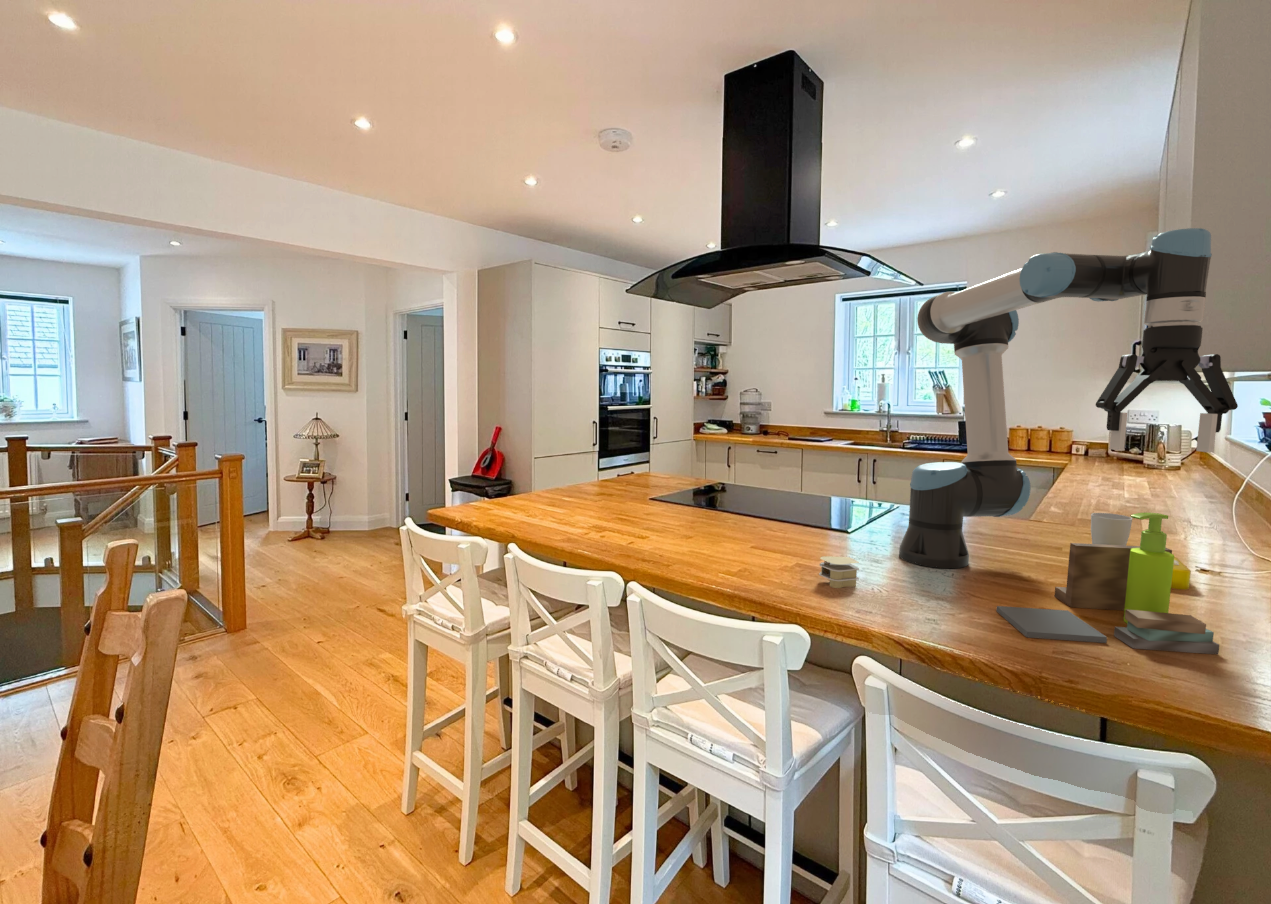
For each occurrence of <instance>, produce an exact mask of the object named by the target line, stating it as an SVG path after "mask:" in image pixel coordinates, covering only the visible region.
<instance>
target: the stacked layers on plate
mask: <svg viewBox="0 0 1271 904" xmlns="http://www.w3.org/2000/svg"><path fill="white" fill-rule="evenodd" d="M819 559H820V560H822V561H823V562H820V563H819V567H820V572H819V573H818V575H819V576H820V577H822V578H825V579H827V580H829V587H830V588H834V589H841V588H842V589H843V588H844V587H845V588H846V587H848V588H849V587H856V586H857V580H859V577H858V576H857V574H858V572H857V571H859V570H860V568H859V567H858V566H856V565H854V564H858V563H860V562H859V561H857V560H856V559H855V558H852V557H849V556H831V555H830V556H821V557H819Z"/></svg>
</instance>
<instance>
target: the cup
mask: <svg viewBox="0 0 1271 904" xmlns="http://www.w3.org/2000/svg"><path fill="white" fill-rule="evenodd" d="M1132 523H1133V518H1132V517H1131V516H1127V515H1122V514H1119V513H1118V514H1117V513H1107V512H1092V513H1090V535H1091V544H1103V545H1125V546H1127V544H1128V541H1129V537H1130V534H1131V528H1132Z"/></svg>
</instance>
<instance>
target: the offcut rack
mask: <svg viewBox="0 0 1271 904" xmlns="http://www.w3.org/2000/svg"><path fill="white" fill-rule="evenodd" d="M1069 545H1070V546H1069V555H1068V564H1067V565H1068V566H1067V575H1066V576H1067V577H1066V586H1065V587H1064V586H1054V594H1053V595H1054V597H1055V598H1057V599H1058V600H1059V601H1060V602H1062V603H1064V604H1065V605H1067V606H1068V607H1070V608H1077V609H1081V608H1082V609H1095V610H1096V609H1098V610H1113V611H1124V608H1125V598H1126V588H1127V578H1128V568H1129V558H1130V549H1132V548H1140V545H1126V546H1125V545H1103V544H1092V543H1081V542H1077V543H1076V542H1070V543H1069ZM1165 552H1169V553H1171V554H1173V550H1172V549H1170V548H1169V547H1168V548H1167V547H1166V548H1165ZM1125 619H1126V620H1127V621H1128V623H1126V626H1125V627H1124V626H1114V630H1113V631H1114V632H1113V637H1115V638H1117V639H1118V640H1120V641H1121V642H1123V643H1125V644H1126V645H1127V646H1128V647H1130V648H1132V649H1138V650H1150V651H1151V650H1152V651H1153V650H1154V651H1166V652H1167V651H1168V652H1179V653H1180V652H1181V653H1191V654H1192V653H1194V654H1208V655H1219V654H1220V653H1219V651H1220V644H1219V643H1217V642H1215V641H1214V631H1212V630H1210V629H1207V624H1206V623H1204V622H1203V621H1201V620H1199V619H1198V618H1196V617H1194V616H1193V615H1191V614H1179V613H1173V612H1172V613H1171V612H1170V613H1169V612H1168V613H1161V612H1150V611H1139V610H1128V609H1126V611H1125Z"/></svg>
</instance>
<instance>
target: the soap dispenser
mask: <svg viewBox="0 0 1271 904" xmlns="http://www.w3.org/2000/svg"><path fill="white" fill-rule="evenodd" d="M1129 517H1131V518H1132V519H1137V520H1141V521H1142V520H1146V519H1147V520H1148V526H1147V529H1145V530H1141V534H1140V540H1139V541H1140V542H1139V543H1140V544H1139V546H1140V548H1132V549H1130V558H1129V568H1128V578H1127V588H1126V598H1125V608H1124V610H1123V619H1122V621H1123V622H1124V623H1125V624H1127V623H1128V621H1127V620H1126V619H1125V611H1126V609H1128V610H1139V611H1150V612H1161V613H1169V609H1170V608H1169V607H1170V599H1171V591H1172V590H1171V589H1172V588H1171V583H1172V574H1173V565H1174V557H1175V555H1174V554H1173V553H1172V554H1171V553H1169V552H1165V548H1167V546H1166V545H1167V539H1168V538H1167V537H1168V535H1167V533H1165V532H1164V531H1162V525H1163V524H1162V523H1163V519H1164V520H1165V519H1166V520H1168V519H1169V515H1167V514H1163V513H1157V512H1145V511H1144V512H1137V513H1133V514H1131V515H1130V516H1129Z"/></svg>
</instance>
